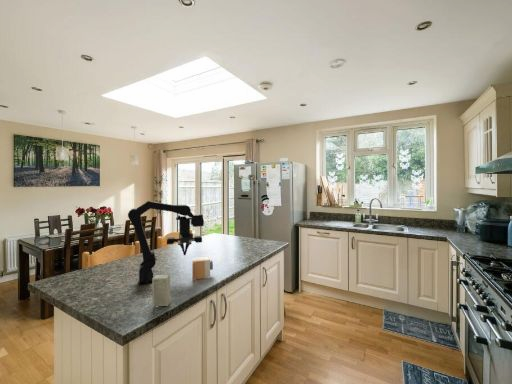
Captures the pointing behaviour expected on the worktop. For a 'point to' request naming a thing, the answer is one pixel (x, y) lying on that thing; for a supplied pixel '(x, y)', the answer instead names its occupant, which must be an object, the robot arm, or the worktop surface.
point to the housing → (206, 265)
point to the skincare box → (161, 290)
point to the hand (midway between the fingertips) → (184, 255)
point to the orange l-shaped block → (198, 270)
